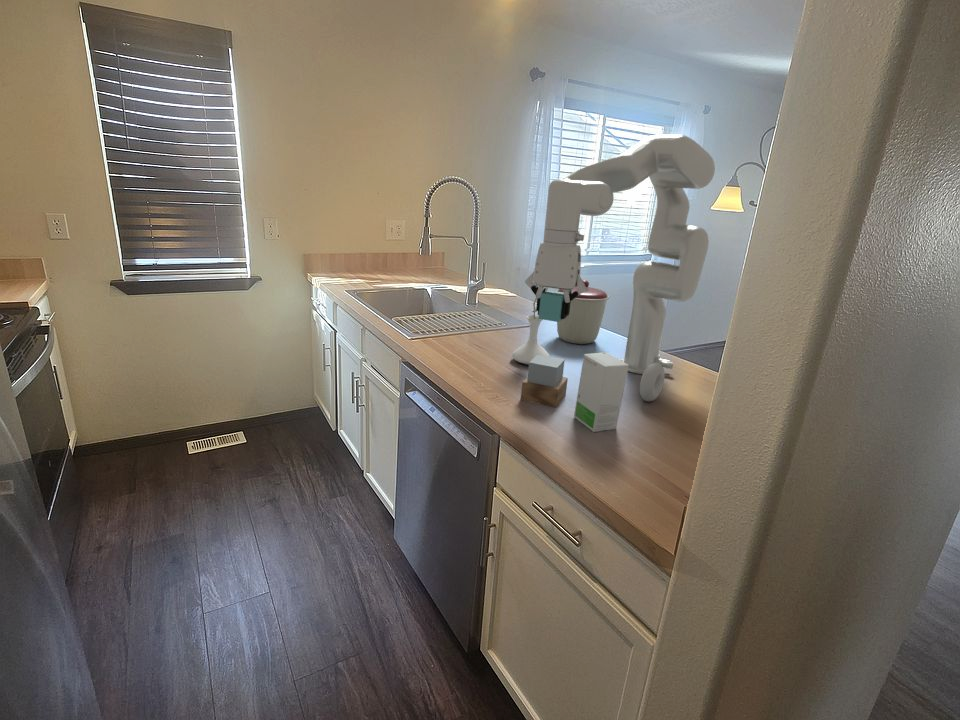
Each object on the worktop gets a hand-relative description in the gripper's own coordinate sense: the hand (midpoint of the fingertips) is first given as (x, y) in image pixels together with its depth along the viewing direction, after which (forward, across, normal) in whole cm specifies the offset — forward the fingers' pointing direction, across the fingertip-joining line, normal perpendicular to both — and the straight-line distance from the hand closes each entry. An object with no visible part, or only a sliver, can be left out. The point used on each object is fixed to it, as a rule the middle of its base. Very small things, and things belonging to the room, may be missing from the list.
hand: (552, 315), depth 123 cm
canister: (+21, +6, -56) cm, 60 cm away
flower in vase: (+21, +12, -25) cm, 35 cm away
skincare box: (+21, -15, +8) cm, 27 cm away
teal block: (+1, 0, 0) cm, 1 cm away
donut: (+21, -24, -13) cm, 35 cm away
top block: (+16, 0, 0) cm, 16 cm away
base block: (+21, 0, 0) cm, 21 cm away
